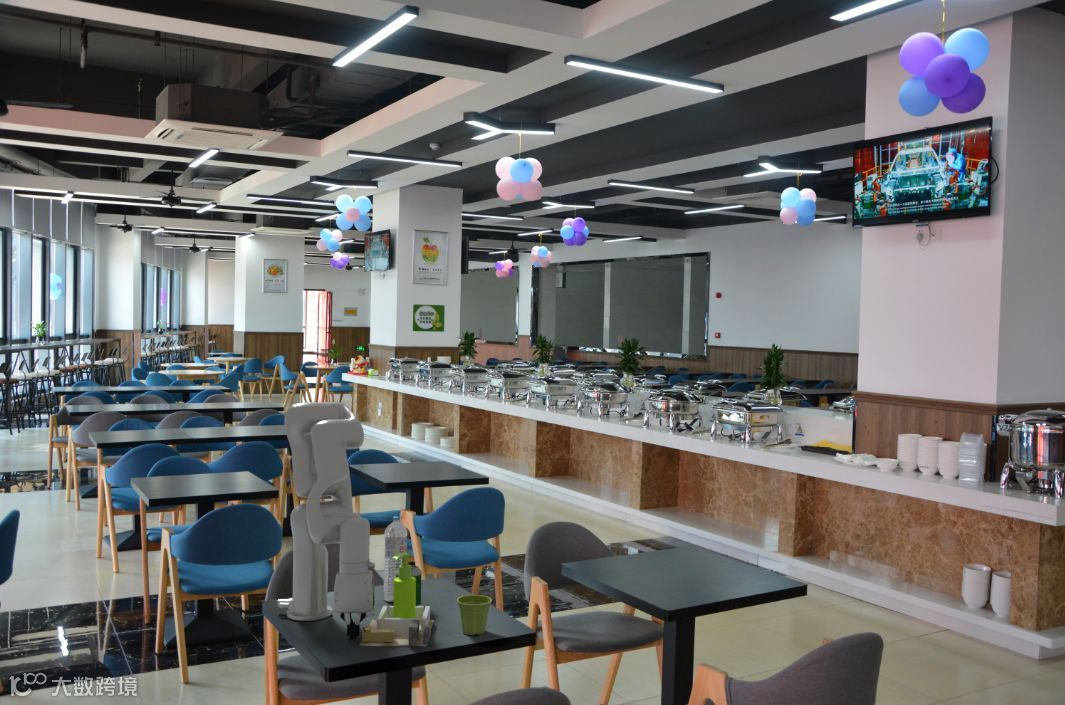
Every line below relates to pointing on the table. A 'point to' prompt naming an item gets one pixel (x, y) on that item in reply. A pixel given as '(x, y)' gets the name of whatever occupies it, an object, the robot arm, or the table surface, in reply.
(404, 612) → the soap dispenser
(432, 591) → the table surface
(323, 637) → the table surface
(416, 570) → the soda can
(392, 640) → the tan rectangular block
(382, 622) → the dock
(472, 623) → the plant pot
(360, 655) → the table surface
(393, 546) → the water bottle
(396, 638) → the base board
